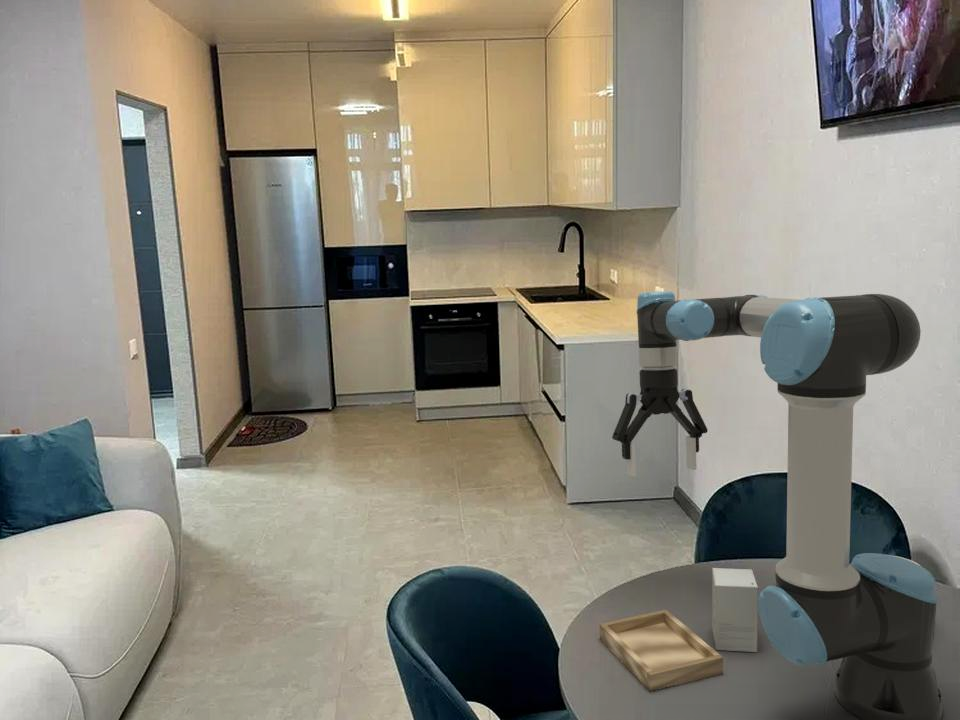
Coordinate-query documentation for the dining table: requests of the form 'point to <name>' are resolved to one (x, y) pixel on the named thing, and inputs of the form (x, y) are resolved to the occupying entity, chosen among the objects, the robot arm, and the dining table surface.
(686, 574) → the dining table surface
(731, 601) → the supplement box
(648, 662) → the tray
